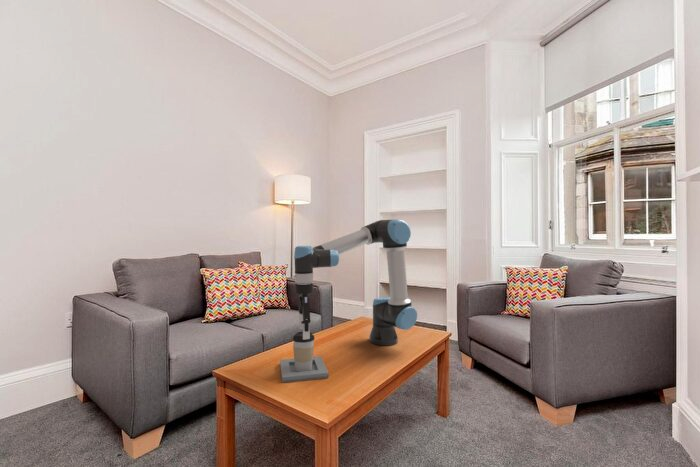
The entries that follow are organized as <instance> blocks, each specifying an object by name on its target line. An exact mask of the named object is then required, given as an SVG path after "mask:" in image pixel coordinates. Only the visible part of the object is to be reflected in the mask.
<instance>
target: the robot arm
mask: <svg viewBox="0 0 700 467" xmlns="http://www.w3.org/2000/svg"><path fill="white" fill-rule="evenodd" d="M411 236H412V232H411V228H410V226H409V224H408V223H407V222H406V221H405V220H402V219H397V218H395V219H393V218H392V219H380V220H377V221H374V222H371V223H369V224H367V225H364V226H362V227H361V228H360V229H359V230H357V231H354V232H351V233H349V234H345V235H343V236H341V237H338V238H335V239H333V240H330V241H327V242H324V243H322V244H319V245H316V246H312V245H297V246H295V248H294V254H293V255H294V257H293V258H294V259H293V260H294V275H293V276H292V277H293V278H294V283H295V284H294V292H295V293H296V294H299V296H298V314H299V315H298V317H299V318H298V320H299V322H298V324H299V328H298V329H299V330H302V331H303V340H304V339H310V333H311V325H310V324H311V310H310V309H311V308H310V297H309V296H308V294H312V293H313V292H314V284H313V282H314V269H316V268H317V269H320V268H332V267H337V266H338V264H339V261H340V255H342V254H344V253H347V252H348V251H352V250H353V249H354V250H355V249H356V248H359V247H361V246H364V245H367V246H368V245H372V244H376V243H380V244H382V248H383V249H384V250H385V251H386V261H387V271H388V272H387V273H388V284H389V293H390V294H389V297H387V296H386V297H385V296H384V297H377V298H374V299H373V300H372V327H371V330H370V334H369V338H368V339H369V342H370V343H371V344H374V345H377V346H393V345H396V344H398V342H399V338H398V333H397V331H396V328H397V329H398V330H404V331H407V330H410V329H412V328H413V327H414V325H415V324H416V323H417V320H418V312H417V309H415V307H413V304H412V299H410V297H408V296H409V294H408V284H407V283H408V282H407V272H406V270H407V269H406V260H405V249H406V248H407V246H408V245H407V244H408V242H409V241H410V238H411Z"/></svg>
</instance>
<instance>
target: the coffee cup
mask: <svg viewBox="0 0 700 467" xmlns="http://www.w3.org/2000/svg"><path fill="white" fill-rule="evenodd" d="M292 342H293V343H292V344H293V345H292V346H293V347H292V348H293V359H294V360H295V370H296V371H298V372H303V371H310V370H311V369H312V360H313V357H314V349H315V335H314V334H313V333H312V332H310V339H304V340H303V330H302V331H298V332H296V333H295V334H294V335H293V336H292Z"/></svg>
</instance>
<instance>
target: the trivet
mask: <svg viewBox="0 0 700 467" xmlns="http://www.w3.org/2000/svg"><path fill="white" fill-rule="evenodd" d="M279 366H280V376H281V382H282V383H291V382H301V381H310V380H321V379H329V371H328V368H327V366H326V365H325V363H324V359H323V358H322V356H320V355H319V356H313V360H312V369H311V370H310V371H303V372H298V371H296V370H295V360H294V358H286V359H285V358H284V359H283V358H282V359H280V360H279Z"/></svg>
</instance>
